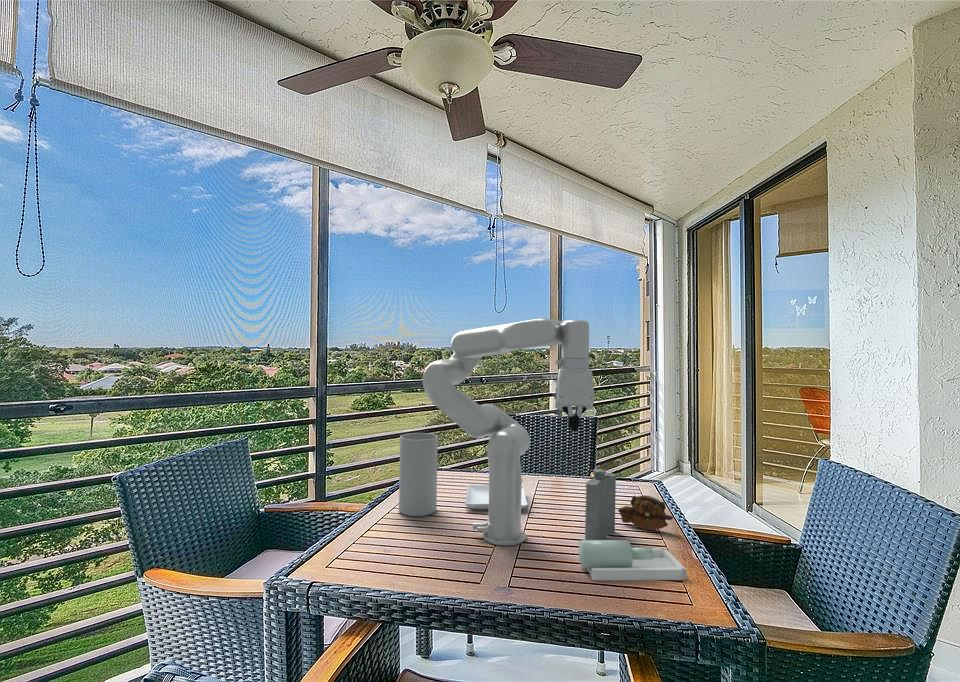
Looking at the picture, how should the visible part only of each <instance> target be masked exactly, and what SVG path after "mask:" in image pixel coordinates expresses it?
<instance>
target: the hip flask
mask: <svg viewBox="0 0 960 682" xmlns="http://www.w3.org/2000/svg"><path fill="white" fill-rule="evenodd" d="M592 473H593V478H591V479H589V480H587V481H586V483H585V515H584V516H585V520H584V523H585V524H584V540H605V539H606V538H607V537H609V536H611V535H613V534H615V533H616V489H617V488H616V486H617V484H616V482H617V475H616V473H611V472H610V473H609V472H607V471H606V469H601V468H594V469H593V470H592Z"/></svg>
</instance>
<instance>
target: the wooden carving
mask: <svg viewBox="0 0 960 682" xmlns="http://www.w3.org/2000/svg"><path fill="white" fill-rule="evenodd" d="M630 504H631V506H630V505H629V506H628V505H625V506H622V507H620V508H618V513H619V514H620V516H621V521H622V522H623V523H624V524H625V523H626V524H629V523H631V524H633V525H634V526H635V527H637V528H640V529H642V530H647V531H648V530H649V531H655V530H657V531H658V530H661V529H663V528H665V527H668V526H669V524H668V523H667V521H672V520H673V519H675V517H674V516H673V515H668V514H666V513H665V510H666V503H665V501H663V500H661V501H660V500H659V499H658V498H656V497H654V496H651V495H639V496H637V495H633V496H632V498H631V500H630Z"/></svg>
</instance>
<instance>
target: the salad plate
mask: <svg viewBox="0 0 960 682" xmlns="http://www.w3.org/2000/svg"><path fill="white" fill-rule="evenodd" d="M525 490H526V489H525V488H524V487H523V486H522V487H521V510H524V509H526V508H527V507H528V504H529V503H528V500H527V496H526V491H525ZM464 504H465V506H467V507H468V508H470V509H473V510H474V509H475V510H483V511H486V510H487V511H489V484H475V485H474V484H467V487H466V497H465V501H464Z"/></svg>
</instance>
